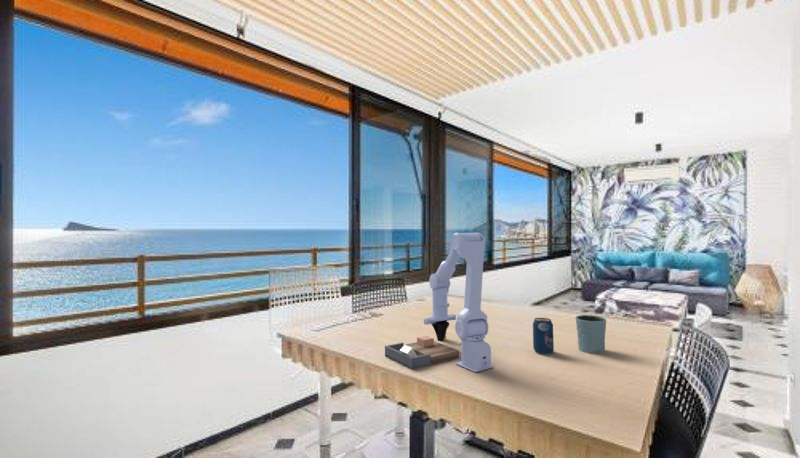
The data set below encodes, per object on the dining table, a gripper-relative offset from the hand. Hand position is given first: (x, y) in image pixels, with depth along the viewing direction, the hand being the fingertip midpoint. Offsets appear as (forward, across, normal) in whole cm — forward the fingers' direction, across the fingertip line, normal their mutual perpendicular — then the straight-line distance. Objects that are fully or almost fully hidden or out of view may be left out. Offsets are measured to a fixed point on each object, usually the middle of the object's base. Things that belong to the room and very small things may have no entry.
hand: (440, 340), depth 140 cm
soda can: (+3, -27, +26) cm, 38 cm away
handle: (+3, -8, -9) cm, 12 cm away
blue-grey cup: (+3, -43, +35) cm, 56 cm away
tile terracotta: (0, +7, 0) cm, 7 cm away
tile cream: (-1, +19, +7) cm, 20 cm away
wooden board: (+3, +8, +4) cm, 9 cm away
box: (+3, +18, +4) cm, 19 cm away
